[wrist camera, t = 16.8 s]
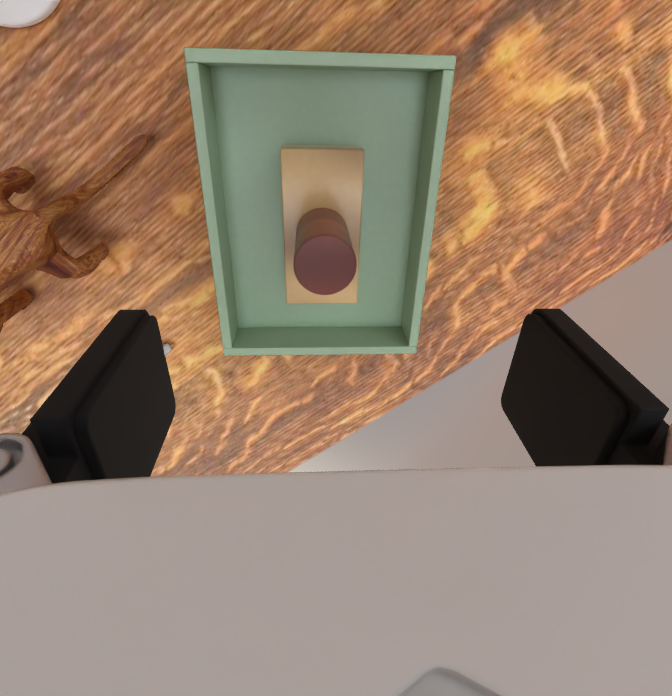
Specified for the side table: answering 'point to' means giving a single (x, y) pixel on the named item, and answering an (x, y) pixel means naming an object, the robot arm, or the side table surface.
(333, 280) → the stamp
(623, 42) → the side table surface
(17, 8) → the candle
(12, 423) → the side table surface
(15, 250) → the wooden animal figurine
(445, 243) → the side table surface
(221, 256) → the tray
